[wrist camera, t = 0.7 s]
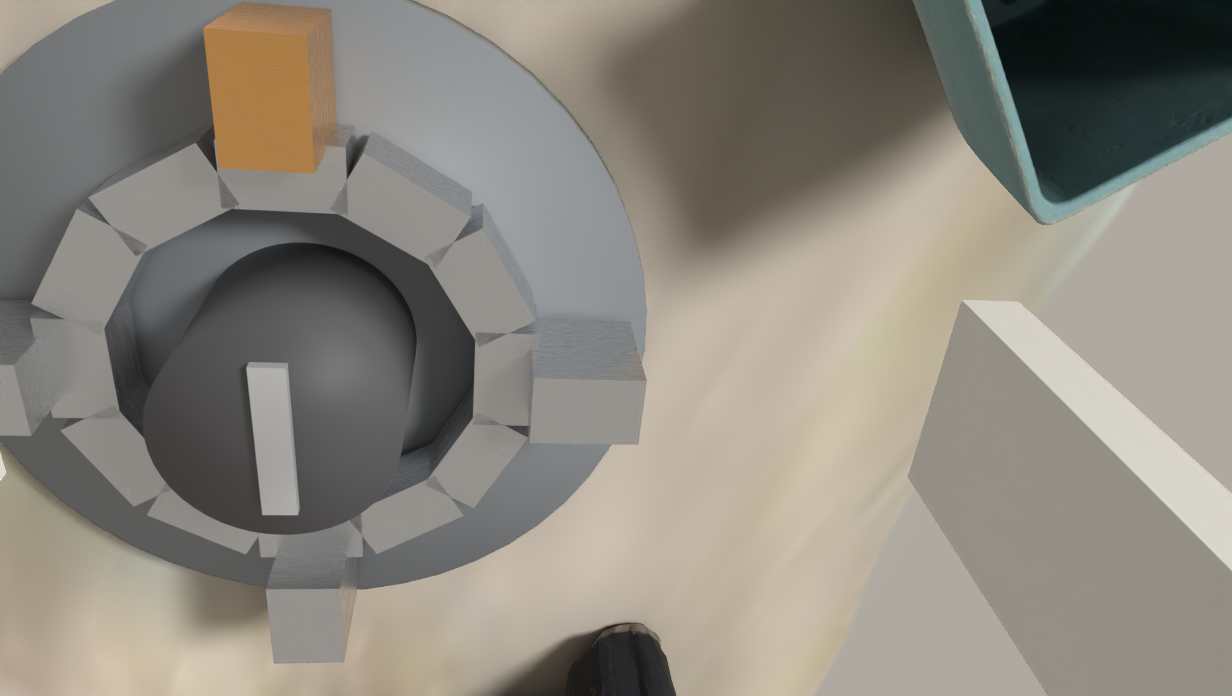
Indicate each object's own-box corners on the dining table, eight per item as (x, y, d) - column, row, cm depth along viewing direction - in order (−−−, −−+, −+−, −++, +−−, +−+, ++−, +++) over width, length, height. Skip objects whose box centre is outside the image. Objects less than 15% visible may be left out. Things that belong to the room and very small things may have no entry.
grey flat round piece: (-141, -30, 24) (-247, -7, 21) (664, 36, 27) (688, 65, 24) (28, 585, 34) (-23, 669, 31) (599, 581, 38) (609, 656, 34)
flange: (-144, -67, 25) (-367, -32, 19) (681, 5, 28) (736, 56, 22) (29, 571, 36) (-73, 734, 30) (610, 568, 39) (633, 713, 33)
